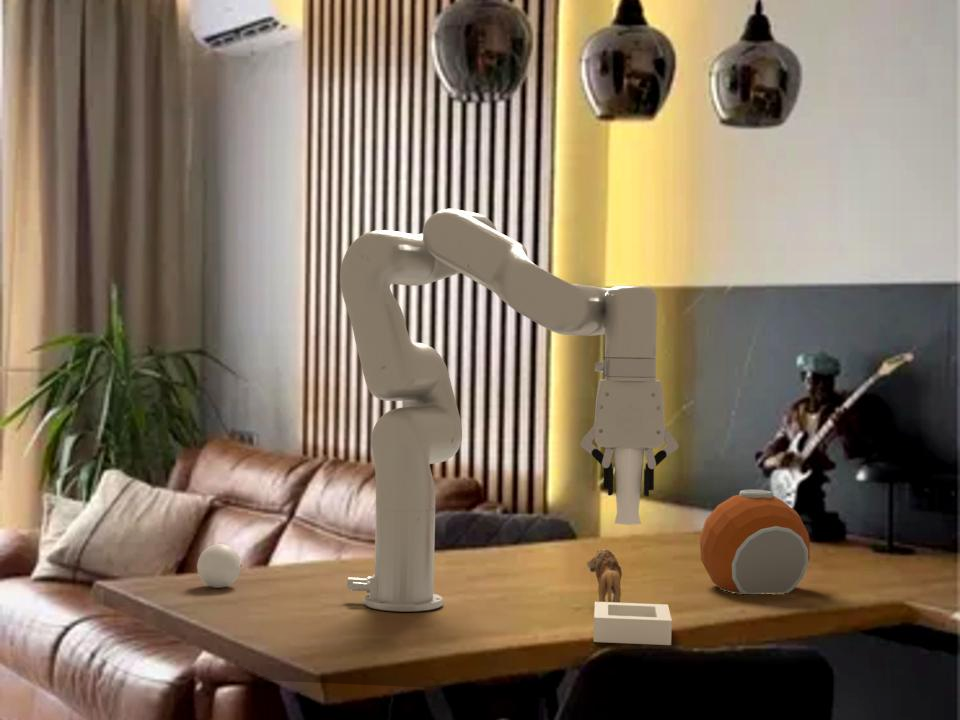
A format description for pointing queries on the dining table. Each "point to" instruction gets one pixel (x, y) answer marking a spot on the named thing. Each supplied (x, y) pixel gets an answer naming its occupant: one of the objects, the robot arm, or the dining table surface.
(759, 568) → the alarm clock
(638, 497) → the perfume bottle
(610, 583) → the lion figurine
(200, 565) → the off-white rounded piece
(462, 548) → the dining table surface
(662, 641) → the white rectangular box
